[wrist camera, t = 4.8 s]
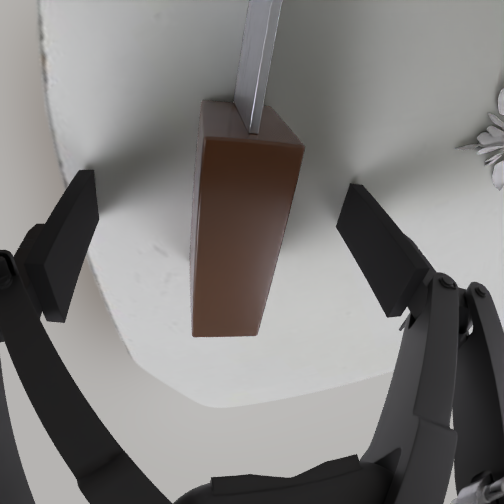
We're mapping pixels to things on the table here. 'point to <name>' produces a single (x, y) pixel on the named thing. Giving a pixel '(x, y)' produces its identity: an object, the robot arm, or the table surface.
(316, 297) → the table surface
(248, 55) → the cake knife
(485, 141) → the flower
